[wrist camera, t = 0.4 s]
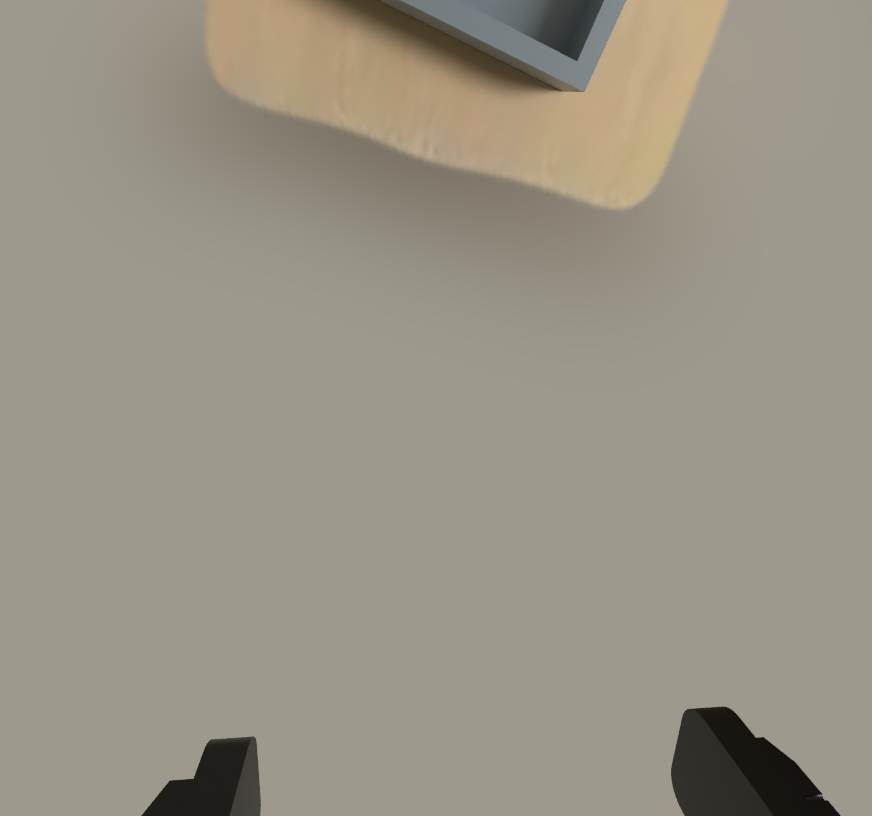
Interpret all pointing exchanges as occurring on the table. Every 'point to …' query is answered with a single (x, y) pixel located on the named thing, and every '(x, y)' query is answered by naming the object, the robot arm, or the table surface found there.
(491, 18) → the tray
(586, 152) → the table surface
